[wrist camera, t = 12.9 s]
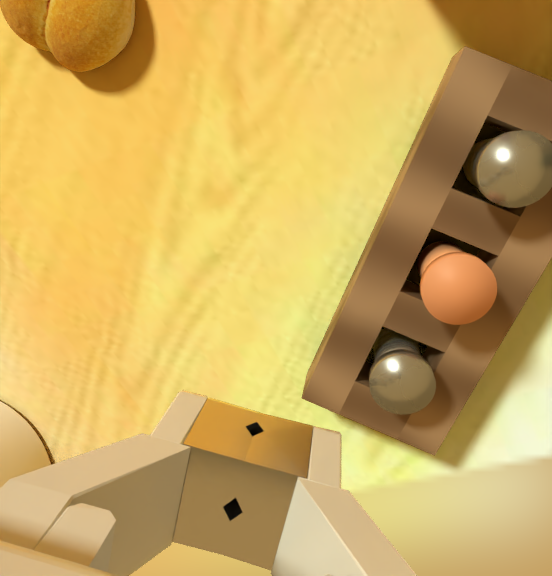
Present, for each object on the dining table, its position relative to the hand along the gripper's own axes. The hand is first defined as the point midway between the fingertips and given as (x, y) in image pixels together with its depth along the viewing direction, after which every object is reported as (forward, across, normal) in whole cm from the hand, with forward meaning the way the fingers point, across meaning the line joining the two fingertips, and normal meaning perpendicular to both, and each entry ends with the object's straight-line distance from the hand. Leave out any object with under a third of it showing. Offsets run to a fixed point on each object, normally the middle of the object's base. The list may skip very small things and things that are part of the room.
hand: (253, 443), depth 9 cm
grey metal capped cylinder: (+28, -8, +8) cm, 30 cm away
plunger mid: (+27, -9, +1) cm, 28 cm away
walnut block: (+28, -9, +1) cm, 29 cm away
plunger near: (+28, -10, -6) cm, 30 cm away
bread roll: (+29, +20, -10) cm, 36 cm away
